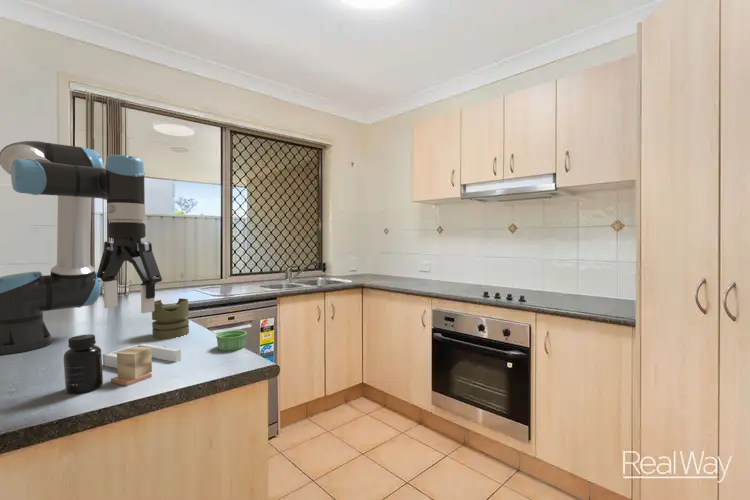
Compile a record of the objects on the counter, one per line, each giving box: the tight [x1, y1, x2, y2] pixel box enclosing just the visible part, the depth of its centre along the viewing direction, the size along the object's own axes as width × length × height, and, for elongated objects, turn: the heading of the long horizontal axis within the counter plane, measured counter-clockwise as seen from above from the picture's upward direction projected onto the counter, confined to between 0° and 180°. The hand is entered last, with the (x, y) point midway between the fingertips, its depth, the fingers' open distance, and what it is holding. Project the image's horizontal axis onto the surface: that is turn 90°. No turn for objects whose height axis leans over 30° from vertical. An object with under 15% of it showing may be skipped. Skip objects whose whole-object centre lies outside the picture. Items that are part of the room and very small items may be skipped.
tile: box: [110, 372, 153, 387], centre depth 90 cm, size 6×6×1 cm
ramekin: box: [215, 329, 248, 352], centre depth 116 cm, size 9×9×4 cm
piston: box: [151, 298, 190, 340], centre depth 131 cm, size 11×12×11 cm
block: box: [116, 347, 153, 379], centre depth 91 cm, size 5×5×6 cm
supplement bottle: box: [63, 333, 104, 395], centre depth 85 cm, size 7×7×12 cm
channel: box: [102, 343, 182, 369], centre depth 102 cm, size 16×11×3 cm
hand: (129, 309), depth 90 cm, fingers open, 13 cm apart
